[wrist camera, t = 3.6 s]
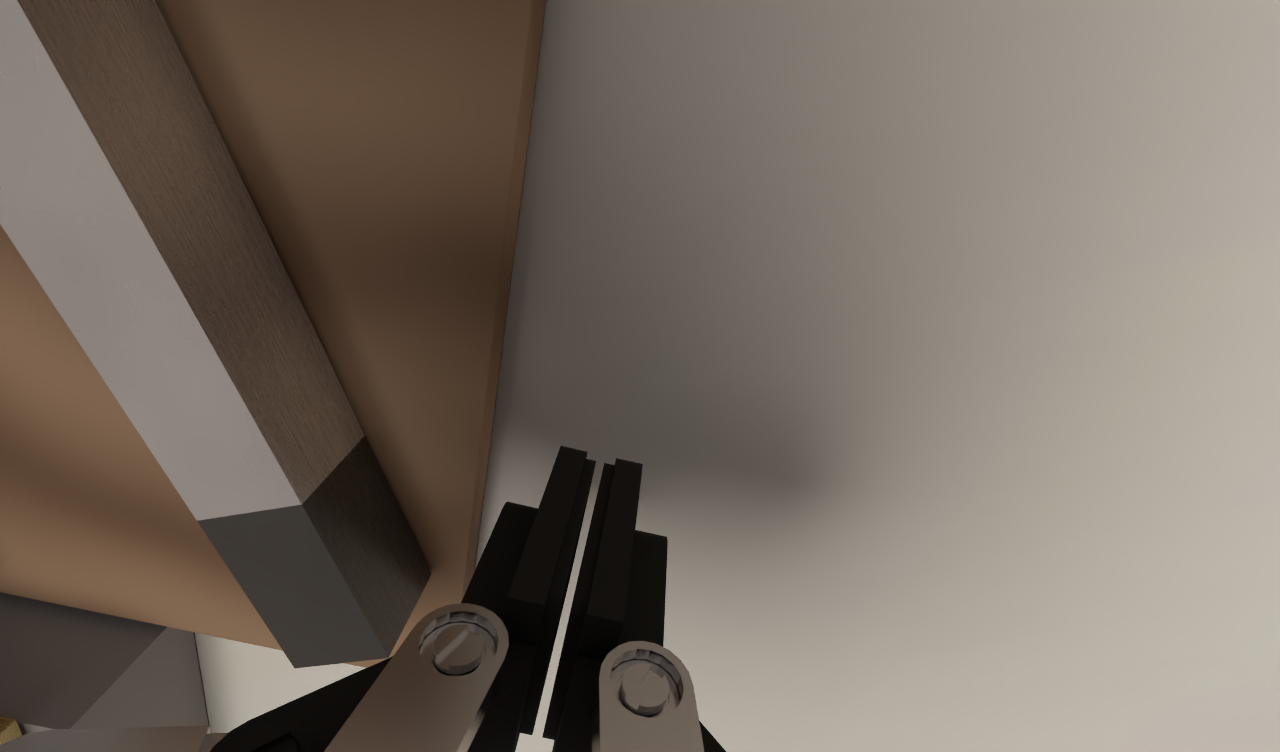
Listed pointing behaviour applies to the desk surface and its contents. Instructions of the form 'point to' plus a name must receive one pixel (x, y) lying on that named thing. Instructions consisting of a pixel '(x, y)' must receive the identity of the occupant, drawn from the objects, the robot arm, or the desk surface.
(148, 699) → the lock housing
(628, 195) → the desk surface
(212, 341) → the tong arm
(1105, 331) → the desk surface
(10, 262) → the tong board
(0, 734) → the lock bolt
